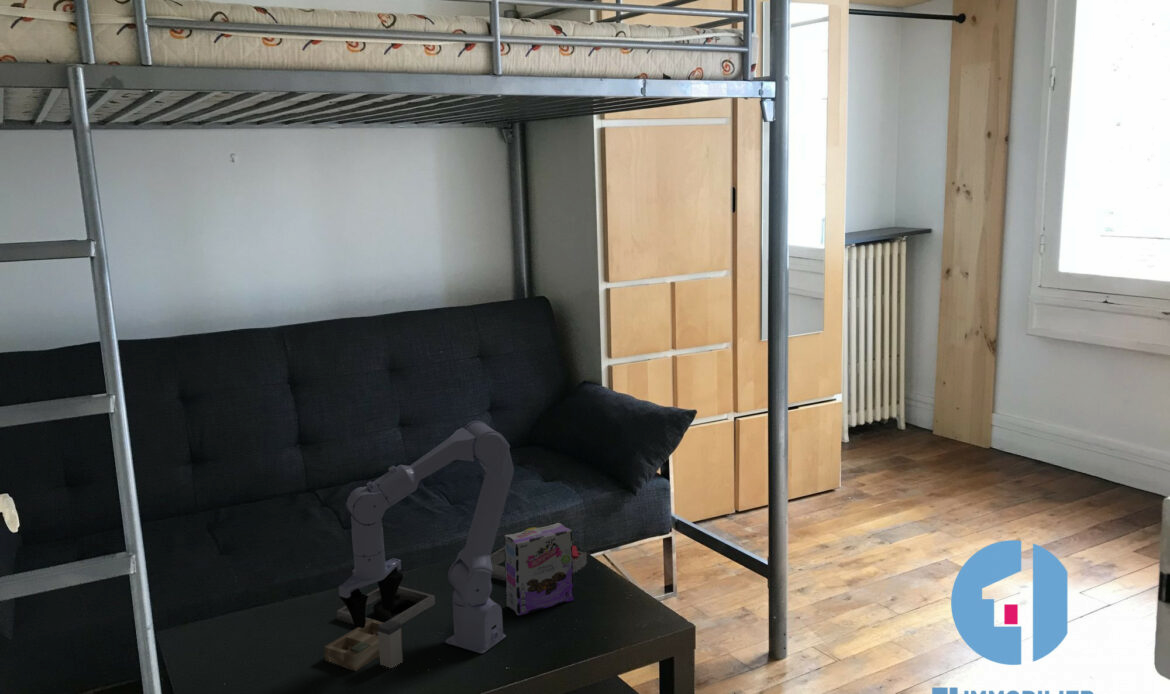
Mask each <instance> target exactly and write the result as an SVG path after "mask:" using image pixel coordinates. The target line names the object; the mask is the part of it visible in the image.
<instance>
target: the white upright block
mask: <svg viewBox="0 0 1170 694" xmlns="http://www.w3.org/2000/svg"><path fill="white" fill-rule="evenodd" d="M401 630H402V627H401V625H400V623H397V622H393V621H390V620H388V621H386V622H383V624H381V625H379V626H378V639H379V653H380V656H379V662H380V663H379V666H381V665H384V666H386V667H385V668H387V667H389V668H388V669H390V668H393V667H395V666H396V667H397V665H398V664H399V665H400V663H401V664H402V663H403V662H404V661H403V660H404V659H403V641H402V642H401ZM399 665H398V666H399ZM384 666H383V667H384ZM396 667H395V668H396ZM393 669H394V668H393Z"/></svg>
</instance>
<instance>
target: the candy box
mask: <svg viewBox="0 0 1170 694" xmlns="http://www.w3.org/2000/svg"><path fill="white" fill-rule="evenodd" d="M535 528H536V529H532V530H527V531H525V530H523V531H519V532H515V533H511V534H504V537H503V538H504V546H505V561H504V562H505V563H504V564H505V566H504V567H505V570H506V581H505V591H506V592H505V597H506V598H505V599H506V601H505V602H506V606H507V607H508V608H509V609H510V610H511V611H512V612H513V613H514V614H515V615H517V616H523V615H526V614H530V613H532V612H537V611H540V610H543V609H548V608H550V607H551V608H552V607H554V606H558V605H562V604H566V603H569V602H572V601H574V599H575V598H574V595H575V594H574V574H573V562H572V561H573V559H572V546H573V530H572V529H570V528H568V527H566V526H565V525H564V524H562V523H560V522H557V523H553V524H550V525H547V526H542V527H535Z"/></svg>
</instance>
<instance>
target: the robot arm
mask: <svg viewBox="0 0 1170 694" xmlns="http://www.w3.org/2000/svg"><path fill="white" fill-rule="evenodd" d="M510 448H511V445H510V444H509V442H508V440H507V439H506V438H505V436H504V435H502V434H501V433H500V432H498V431H496V430H494V429H493V428H491V427H490V426H489V425H488V424H487V423H485V422H484V421H482V420H474V421H473V420H472V421H471V422H468V423H467V424H466V425H465V426H464V427H460V428H459V429H457V430H455V431H454V432H453V434H451V435H450V437H448V438H447V439H445V440H444V441H442V442H441V443H440V444H438V445H437V446H435V447H434V448H433V449H431V450H430V451H428V452H427V453H426V454H424V455H423V456H421V457H420V458H419V459H418V460H416V461H415V462H413V463H412V464H410V465H404V464H399V465H397V466H395V465H392V466H389V467H388V469H387V470H388V472H386V473H384V474H383V475H382V476H380V477H378V478H377V479H375V480H374V481H371V480H370V481H368V482H367V483H366V485H365V486H359V487H357V488H355V489H353V490H352V491H351V492H350V494H349V496H348V497H347V501H346V502H345V506H346V508H347V510H348V512H349V513H351V516H350V519H351V522H350V523H351V531H350V532H351V541H352V555H353V563H354V564H353V566H354V569H353V570H352V575H351V576H350V577H349V578H348V579H347V580H346V581H345V582H344V583H342V584H341V585H339V586H338V594H339V595H338V596H339V599H340V600H341V601H342V603H344V605H345V606H347V608H348V610H349V612H350V614H351V617H352V619H353V622H354V625H353V626H354V627H356V628H358V627H360V628H364V627H365V623H366V618H367V617H366V607H367V606H366V602H367V599H368V596H367V594H363V592H362V591H361V590H362V589H363V588H365V587H367V586H369V585H372V584H375V583H377V585H378V588H379V589H380V594H381V598H380V600H381V602H382V607H383V609H384V610H387V611H391V612H392V611H394V609H395V608H394V602H395V597H396V593H397V590H398V587H399V586H400V585H401V583H402V580H403V578H404V577H403V576H404V574H403V573H402V572H399V571H400V570H402V560H401V559H398V558H394V557H392V558H391V559H389V560H386V553H385V541H384V539H385V538H384V529H383V528H384V527H383V523H382V518H383V517H384V515H385V512H386V510H388V509H389V508H391V507H393V506H394V505H395V504H398V503H399V502H400V501H402V500H403V499H406V497H408V496H409V495H411V494H413V493H414V492H415V491H417V489H418V486H419V482H420V481H422V480H423V479H425V478H427V477H428V476H429V475H432V474H433V473H435V472H437V471H439V470H440V469H442V468H444V467H446V466H448V465H449V464H451V463H453V462H454V461H463V462H465V461H466V462H474V461H475V458H476V459H477V460H478V462H479V464H480V466H481V467H482V468H483V470H484V471H485V475H484V477H483V482H482V485H481V488H480V492H479V495H478V500H477V503H476V505H475V507H476V508H475V510H474V513H473V517H472V521H471V525H470V528H469V532H468V535H467V539H466V542H465V546H464V548H462V549H461V550H460V551H458V552H457V556H456V559H455V561H454V562H453V563H452V565H451V566H450V567H449V569H448V572H447V573H448V574H447V579H448V582H449V584H450V585H451V586H452V587H454V588H453V590H454V591H453V594H452V597H451V598H452V600H451V601H452V616H453V633H454V634H453V635H451V636H450V637H448V638H447V639H446V640H445V643H446V644H447V645H452V646H454V647H458V648H462V649H464V650H469V651H471V652H475V653H477V654H478V653H479V654H482V655H483V654H484V653H486V652H487V651H489V650H490V649H492V648H493V647H494V646H495V645H497V644H499V643H500V642H501V641H502V640H504V639H505V638H506V637H507V636H506V634H505V633H504V625H503V624H504V622H503V609H502V606H501V605H500V604H499V603H496V602H495V601H494V600H492V599H491V598H490V596H491V594H492V591H493V584H492V578H491V575H492V571H493V570H492V564H491V557H490V555H491V554H492V552H493V548H494V545H495V544H494V543H495V541H496V538H497V533H498V530H499V526H500V524H501V519H502V516H503V512H504V509H505V505H506V502H507V498H508V494H509V492H510V491H509V490H510V488H511V484H512V480H513V477H514V472H515V467H514V465H513V460H512V456H511V452H510ZM474 457H475V458H474ZM393 608H394V609H393ZM365 617H366V618H365Z"/></svg>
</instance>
